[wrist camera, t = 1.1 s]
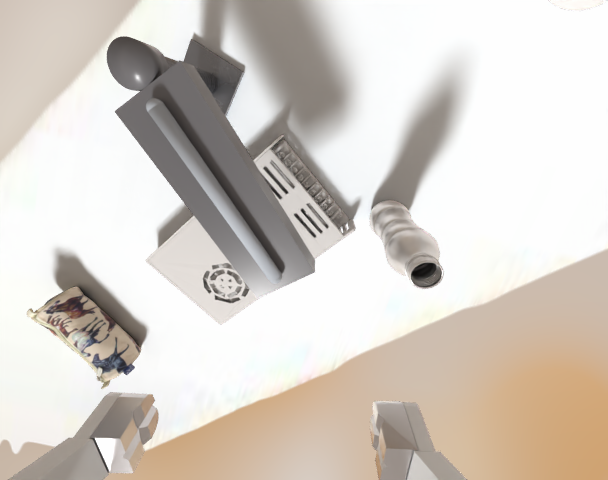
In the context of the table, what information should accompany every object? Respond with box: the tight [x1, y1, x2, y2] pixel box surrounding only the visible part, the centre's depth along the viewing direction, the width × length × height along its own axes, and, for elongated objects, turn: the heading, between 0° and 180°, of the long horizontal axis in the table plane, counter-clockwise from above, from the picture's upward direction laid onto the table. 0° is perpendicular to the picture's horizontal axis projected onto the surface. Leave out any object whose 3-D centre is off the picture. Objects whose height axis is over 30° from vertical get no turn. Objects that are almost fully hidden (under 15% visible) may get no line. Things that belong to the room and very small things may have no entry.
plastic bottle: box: [369, 200, 443, 289], centre depth 40 cm, size 6×7×20 cm
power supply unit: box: [146, 134, 356, 325], centre depth 50 cm, size 19×33×5 cm, turn 130°
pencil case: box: [27, 286, 141, 389], centre depth 58 cm, size 22×8×10 cm, turn 29°
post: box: [165, 39, 244, 116], centre depth 35 cm, size 8×8×16 cm
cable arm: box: [107, 37, 315, 299], centre depth 29 cm, size 28×8×5 cm, turn 30°
